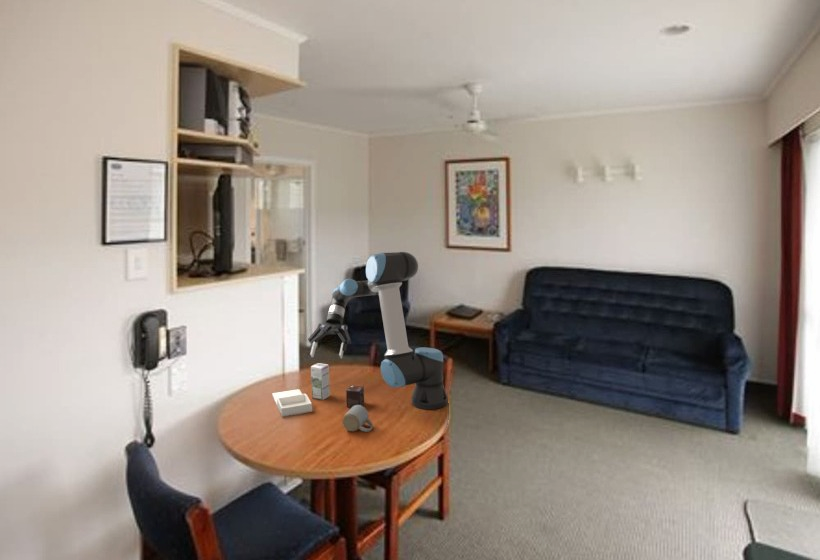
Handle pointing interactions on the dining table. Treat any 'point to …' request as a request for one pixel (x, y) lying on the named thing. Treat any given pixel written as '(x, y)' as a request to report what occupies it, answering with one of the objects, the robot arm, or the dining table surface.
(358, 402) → the box
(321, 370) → the syrup box
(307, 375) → the dining table surface
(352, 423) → the ceramic mug
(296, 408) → the mailer
